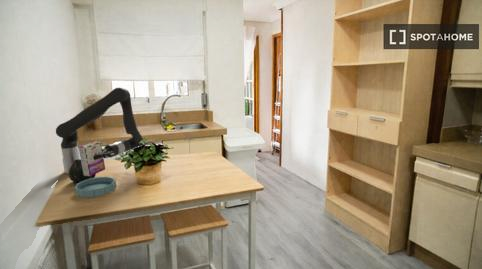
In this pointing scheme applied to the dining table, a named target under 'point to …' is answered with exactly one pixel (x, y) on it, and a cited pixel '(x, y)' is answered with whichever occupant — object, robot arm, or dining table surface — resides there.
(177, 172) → the dining table surface
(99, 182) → the bowl
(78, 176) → the squash
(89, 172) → the candy bar box
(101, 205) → the dining table surface
